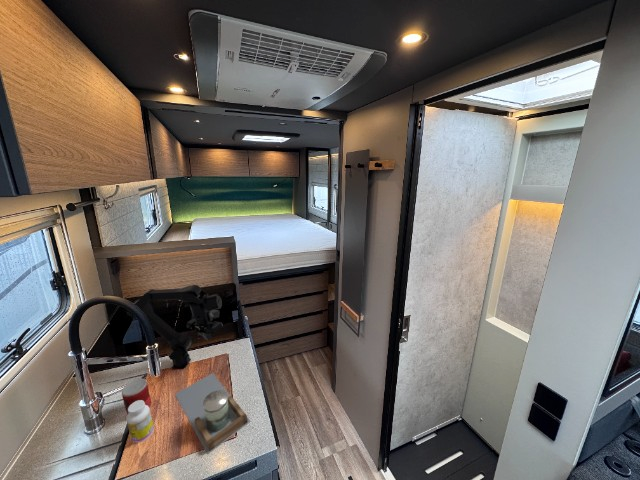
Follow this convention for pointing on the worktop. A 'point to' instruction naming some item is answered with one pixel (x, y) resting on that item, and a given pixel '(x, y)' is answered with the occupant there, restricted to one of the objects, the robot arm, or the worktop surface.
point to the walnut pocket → (226, 431)
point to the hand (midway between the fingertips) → (209, 340)
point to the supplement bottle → (139, 421)
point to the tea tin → (216, 410)
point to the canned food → (136, 393)
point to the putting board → (194, 408)
